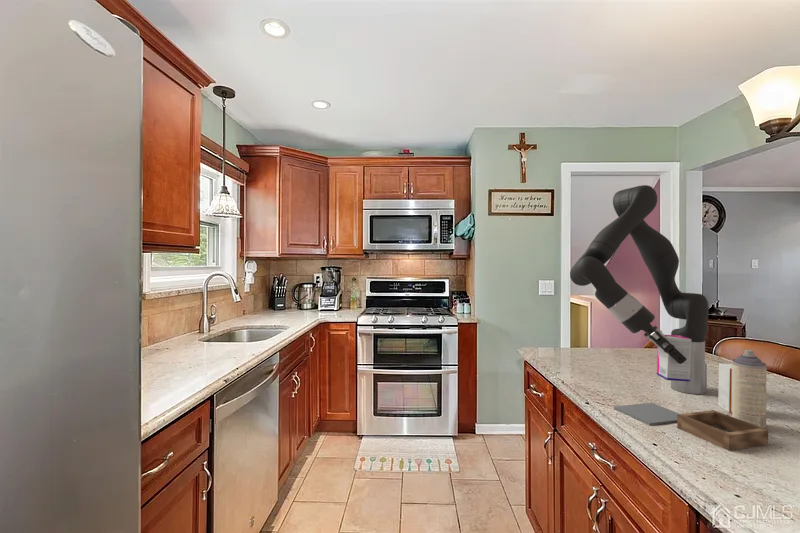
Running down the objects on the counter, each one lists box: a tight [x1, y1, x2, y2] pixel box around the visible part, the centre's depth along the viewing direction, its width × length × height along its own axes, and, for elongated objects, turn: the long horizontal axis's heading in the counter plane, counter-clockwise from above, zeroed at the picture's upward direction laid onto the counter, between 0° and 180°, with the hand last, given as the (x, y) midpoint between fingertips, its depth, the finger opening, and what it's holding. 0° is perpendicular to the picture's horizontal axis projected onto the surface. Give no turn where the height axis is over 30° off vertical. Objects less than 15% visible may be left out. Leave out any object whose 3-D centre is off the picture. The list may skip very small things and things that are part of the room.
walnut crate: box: [676, 409, 769, 451], centre depth 93 cm, size 12×12×4 cm
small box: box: [717, 363, 732, 414], centre depth 110 cm, size 8×6×13 cm
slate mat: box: [613, 402, 680, 426], centre depth 107 cm, size 14×12×1 cm
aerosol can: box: [730, 349, 768, 429], centre depth 100 cm, size 7×7×20 cm
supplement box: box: [656, 334, 691, 382], centre depth 102 cm, size 6×6×12 cm
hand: (680, 358), depth 101 cm, fingers closed on supplement box, 7 cm apart
